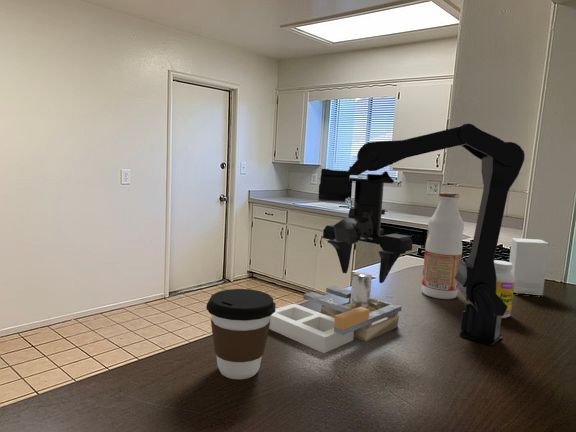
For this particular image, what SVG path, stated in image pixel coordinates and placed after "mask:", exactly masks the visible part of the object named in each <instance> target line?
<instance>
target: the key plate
mask: <svg viewBox="0 0 576 432" xmlns="http://www.w3.org/2000/svg"><path fill="white" fill-rule="evenodd" d="M325 293H327V294H331V295H334V296H337V297H340V298H343V299H349V298H351V290H349V289H346V288H343V287H339V286H336V285H331V286H328V287H326V289H325ZM302 298H303V300H306V301H309V302H312V303H315V304H318V305H323V306H326V307H329V308H331V309H334V310H337V311H340V312H343V313H341V314H338V315H336V316H335V322H334V332H336V333H338V334H341V335H345V334H347V333H350V332H352V331H354V330H357V329H359V328H361V327H364V326H366V325H369V324H371V323H373V322H376V321H378V320H381V319H383V318H385V317H388V316H390V315H392V314H395V313H397V312H398V313H399V312H402V309H403V307H402V305H399V304H396V303H392V302H389V301H387V300H386V301H385V300H382V299H378V298H376V297H372V296H370V303H371V304H375V305H378V306H381V307H383V308H381V309H378V310H376V311H373V312H370V313H369V309H366V308H363V307H358V308H355V309H353V308H350V307H347V306H344V305H342V304H339V303H338V302H335V301H334V298H332V297H330V296H326V295H324V294H320V293H318V292H313V291H311V292H307V293H303V297H302Z"/></svg>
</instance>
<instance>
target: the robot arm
mask: <svg viewBox="0 0 576 432" xmlns="http://www.w3.org/2000/svg"><path fill="white" fill-rule="evenodd" d="M457 146H460V147H462V148H464V149H465V150H466V151H468V152H469V153H470V154H471V155H473V156H474V157H476V159H479V160H480V161H481V176H482V177H481V178H482V184H483V190H482V195H481V201H480V205H479V209H478V215H477V220H476V225H475V230H474V236H473V240H472V245H471V250H470V253H469V256H468V257H467V259H466V260H465V261H463V260H461V261H458V272H457V275H456V276H455V279H456V280H457V285H458V290H459V291H460V292H461V294H463V295H464V296H465V300H466V301H467V302H468V304H466V305H465V307H464V309H465V310H463V311H462V314H461V321H460V322H461V323H460V332H459V336H460V337H464V338H467V339H469V340H473V341H475V342H479V343H483V344H485V345H489V346H493V345H495V344H496V343H497V342H498V341H500V340H501V339H502V338H503V335H502V334H501V324H502V318H501V317H502V316H503V315H504V313H505V311H506V310H507V305H506V304H505V303H504V302H503V301H502V300H501V299H500V298H499V297H498V295H497V294H496V282H497V277H496V271H495V264H494V260H495V258H496V257H495V256H496V252H497V247H498V242H499V238H500V232H501V229H502V223H503V218H504V214H505V210H506V209H505V208H506V203H507V201H508V200H507V199H508V195H509V191H510V188H511V187H512V186H513V184H514V183H515V181H516V180H517V178H518V177H519V175H520V171H521V170H522V167H523V165H524V162H525V156H526V155H525V151H524V150H523V148H522V147H521V145H519V144H518V143H515V142H513V141H504V140H503V139H501V138H499V137H497V136H495V135H493V134H490V133H488V132H487V131H485V130H482V129H480V128H478V127H477V126H475V125H474V124H473V123H472V124H471V123H464V124H461V125H458V126H457V127H452V128H448V129H444V130H443V129H442V130H440V131H436V132H432V133H428V134H423V135H419V136H414V137H411V138H407V139H401V140H400V139H399V140H381V141H369V142H366V143H365V144H363V145H362V146H361V147H360V148H359V150H358V151H357V155H356V160H355V162H354V163H353V164H352V165H351V166H349V168H348V170H337V169H329V168H322V169H321V172H320V181H319V185H318V202H327V203H329V202H331V203H332V202H333V203H344V204H345V203H346V199H347V200H348V199H351V198H352V192H353V182H354V183H355V185H354V198H353V201H354V202H353V207H350V208H349V211H348V216H347V217H345V218H343V219H341V220H339V221H338V222H336V223H334V224H329V225H328V224H327V225H326V226H325V227H324V229H323V231H322V239H326V241H327V243H328V244H330V245H331V246H332V247H333V248H334V249H335V251H336V254H337V258H338V260H339V264H340V267H341V272H342V273H343V274H347V273H348V270H349V267H350V260H351V255H352V249H353V245H354V244H357V243H358V242H359V241H360V242H363V243H370V244H375V245H378V246H379V247H380V248H381V249H382V250H379V251H378V255H379V257H380V264H379V265H380V266H379V276H378V279H379V280H378V282H379V284H383V283H384V282H385V280H386V279H387V277H388V276H389V273H390V272H391V270H392V268H393V266H394V264H395V263H396V262H397V260H398V259H399V257H400V256H401V255H403V254H404V255H405V254H406V252H409V251H412V250H413V244H414V242H413V240H412V237H411V236H410V235H404V234H398V233H390V234H384V231H385V230H384V229H383V228H381V223H382V215H385V214H386V209H384V208H383V197H384V186H385V185H384V184H394V183H395V180H394V179H393V178H392V177H391V176H390V174H389V172H388V171H384V172H381V174H379V173H378V174H377V173H376V174H375V173H367V174H366V178H357V177H356V178H355V177H351V176H360V175H362V174H363V173H365V172H366V171H368V172H376V171H379V170H381V169H384V168H386V167H388V166H391V165H393V164H395V163H398V162H400V161H401V160H405V159H407V158H411V157H415V156H419V155H425V154H428V153H433V152H436V151H441V150H445V149H446V150H447V149H448V148H453V147H454V148H455V147H457Z"/></svg>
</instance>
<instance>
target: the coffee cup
mask: <svg viewBox="0 0 576 432" xmlns="http://www.w3.org/2000/svg"><path fill="white" fill-rule="evenodd" d="M205 307H206V311H207V312H208V313H209V314H210V315H211V316H210V317H211V319H210V326H211V333H212V340H213V341H212V342H213V347H214V349H213V350H214V353H215V355H216V356H215V357H216V364H217V368H218V370H219V372H220V374H221V375H222V376H223V377H226V378H228V379H230V380H231V379H232V380H245V379H249V378H251V377H254V376H255V375H256V374H257V373H258V372H259V369H260V368H261V362H262V358H263V355H264V354H265V349H266V345H267V340H268V334H269V331H270V329H269V326H270V316H271V315H272V314H273V313H274V312H275V309H276V302H274V298H273V297H272V296H271V295H270V294H269V293H266V292H263V291H261V290H255V289H251V288H250V289H247V288H232V289H231V288H230V289H229V288H228V289H225V290H220V291H217V292H215V293H213V294H211V296H210V298H209V299H208V301H207V304H206V306H205Z"/></svg>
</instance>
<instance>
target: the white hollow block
mask: <svg viewBox="0 0 576 432" xmlns="http://www.w3.org/2000/svg"><path fill="white" fill-rule="evenodd" d="M319 312H320V311H319ZM319 312H318V311H316V310H313V309H310V308H308V307H305V306H302V305H299V304H297V303H291V304H287V305H284V306H281V307H277V308H275V312H274V313H273V314H272V315H271V316H270V326H269V330H270V331H273V332H276V333H278V334H280V335H282V336H284V337H287V338H289V339H291V340H292V341H293V340H294V341H295V342H298V343H300V344H302V345H305V346H306V347H308V348H310V349H313V350H315V351H318V352H320V353H322V354H325V353H328V352H330V351H332V350H334V349H337V348H339V347H341V346H344V345H346V344H349V343H350V342H352V341H354V337H353V336H354V331H352V332H350V333H347V334H345V335H341V334H338V333H336V332H334V322H335V318H333V317H330V316H327V315H324V314H322V313H319Z"/></svg>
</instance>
